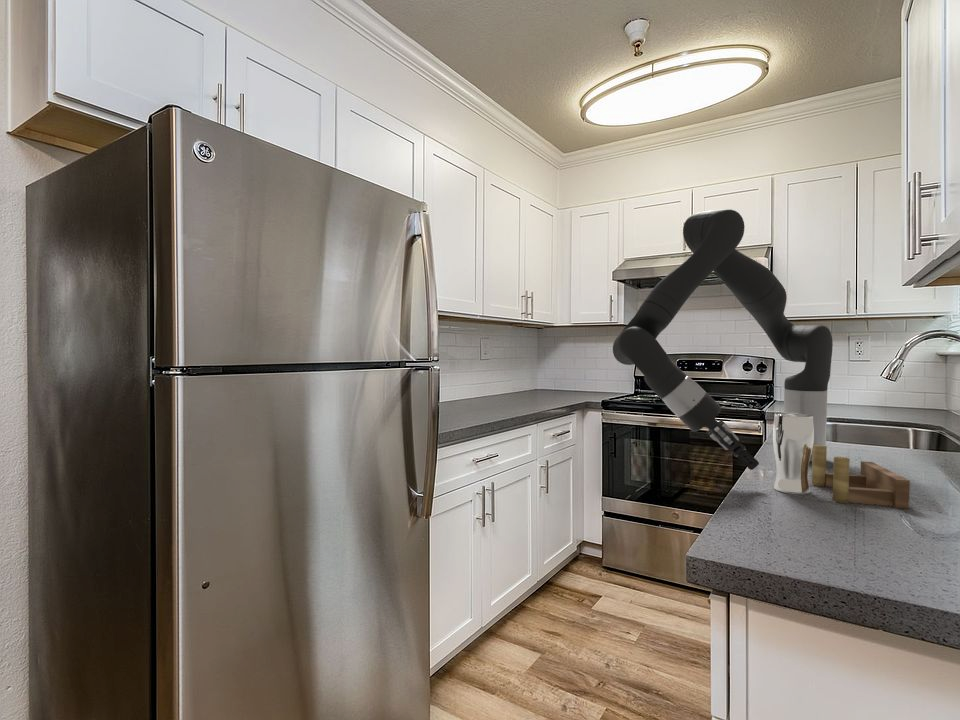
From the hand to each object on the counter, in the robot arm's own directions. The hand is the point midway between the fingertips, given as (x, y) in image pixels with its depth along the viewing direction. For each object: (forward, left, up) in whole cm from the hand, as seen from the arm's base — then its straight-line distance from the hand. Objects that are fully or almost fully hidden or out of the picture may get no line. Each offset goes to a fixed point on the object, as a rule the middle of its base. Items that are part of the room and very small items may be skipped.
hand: (754, 466), depth 109 cm
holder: (0, +17, -4) cm, 17 cm away
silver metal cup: (0, +7, -5) cm, 8 cm away
